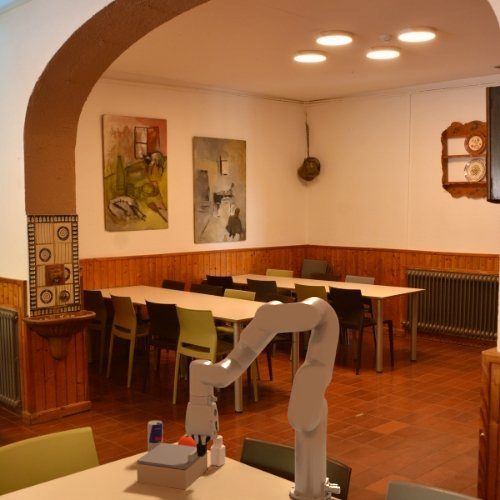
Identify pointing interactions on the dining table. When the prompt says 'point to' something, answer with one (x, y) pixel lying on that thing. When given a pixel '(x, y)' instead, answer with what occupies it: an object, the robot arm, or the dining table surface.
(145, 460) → the box lid
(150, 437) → the energy drink
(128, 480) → the dining table surface
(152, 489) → the dining table surface
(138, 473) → the mailer box
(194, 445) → the clementine
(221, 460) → the pepper shaker
